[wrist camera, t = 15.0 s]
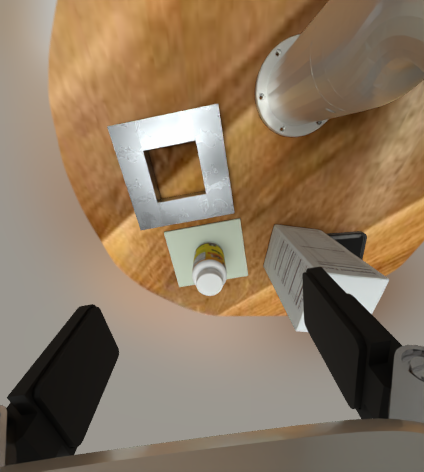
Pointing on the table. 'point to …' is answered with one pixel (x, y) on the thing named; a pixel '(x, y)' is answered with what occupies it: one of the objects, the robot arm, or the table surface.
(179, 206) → the socket block
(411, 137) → the table surface
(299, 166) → the table surface
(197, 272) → the supplement bottle
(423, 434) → the robot arm
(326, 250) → the supplement box
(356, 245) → the phone
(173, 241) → the sage mat
